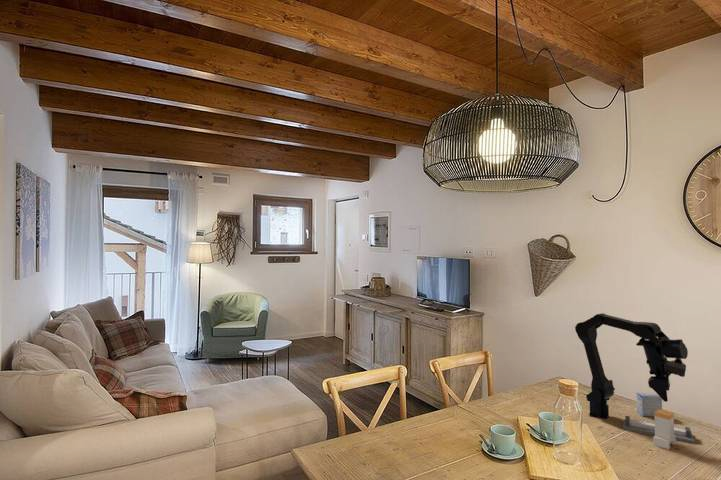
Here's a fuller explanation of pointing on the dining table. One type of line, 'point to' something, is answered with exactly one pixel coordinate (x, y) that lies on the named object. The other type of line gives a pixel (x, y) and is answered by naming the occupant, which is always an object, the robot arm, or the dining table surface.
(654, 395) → the medicine box
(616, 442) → the dining table surface
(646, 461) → the dining table surface
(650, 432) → the board
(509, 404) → the dining table surface
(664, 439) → the white upright block
